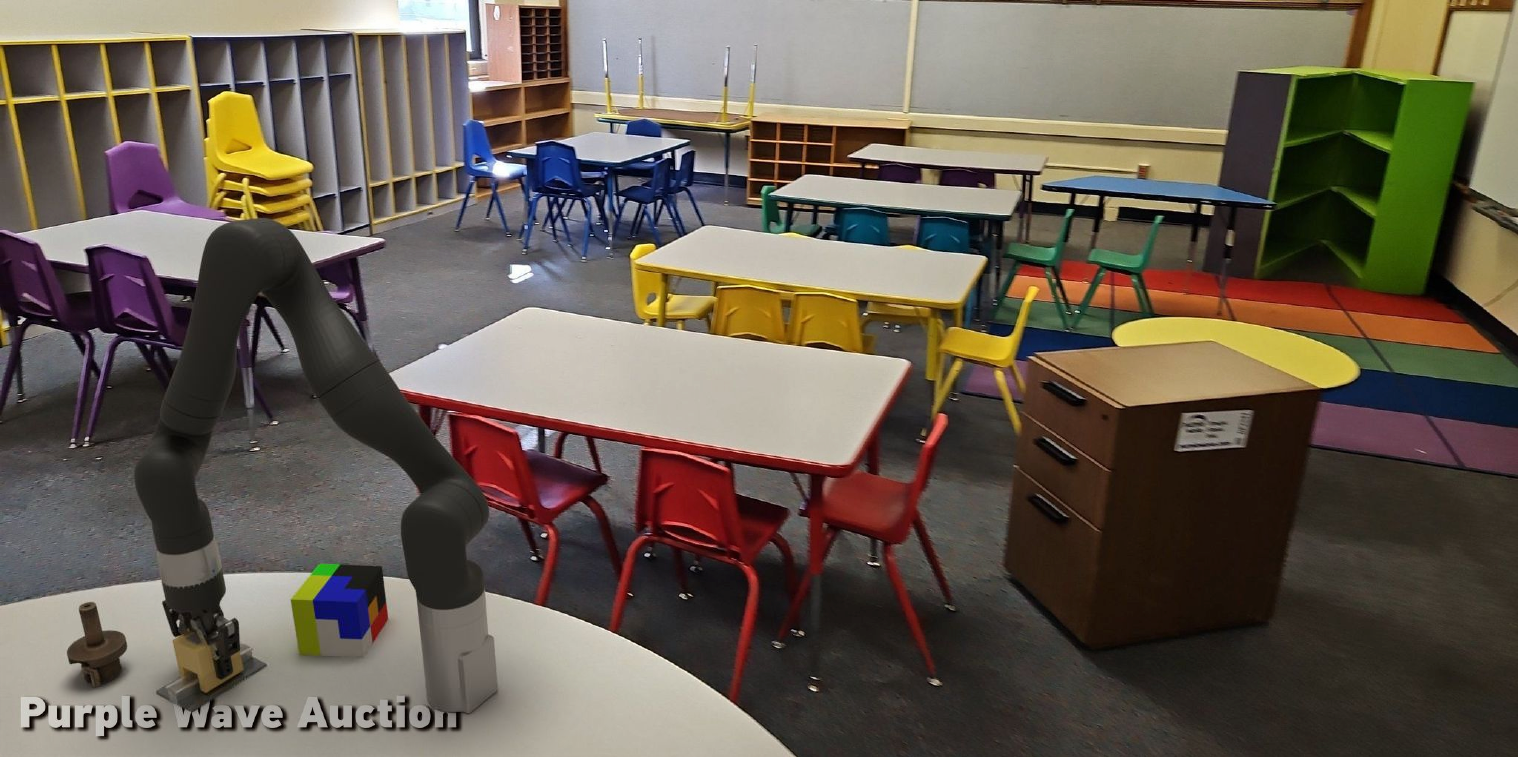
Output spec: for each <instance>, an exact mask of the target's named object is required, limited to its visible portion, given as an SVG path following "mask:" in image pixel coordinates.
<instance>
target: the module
mask: <svg viewBox="0 0 1518 757" xmlns="http://www.w3.org/2000/svg"><path fill="white" fill-rule="evenodd" d="M217 631H218V630H217ZM217 631H216V632H217ZM216 632H214V633H212V634H210V635H208V638H211V637H213V636H215V635H216ZM171 642H172V644H173V646H172V647H173V650H174V654H175V658H176V663H177V669H178V673H179V677H180V678H182V677H183V676H185V675H187V674H189V673H190V672H194V673H196V674H198V679H199V683H200V688H201V691H203V692H205V693H207V692H208V691H210V690H212V689H213V688H215V687H216V686H218V685H220V684H221V683H223V682H225V681H226V680H228V679H229V678H231V677H233V676H234V675H236V674H238V673H239V672H241V671H243V665H242V659H241V654H240V651H239V652H237V653H235V654H234V655H232V656H231V661H232V666H233V673H232V674H231V675H229V676H227V677H226V678H224V679H222V680H220V679H218V678H217V677H216V672H215V667H214V662H213V657H212V655H211V651H210V647H209V646H203V644H202V642H201V640H200V638H199V636H198V633H195V632H191V633H189V634H187V635H185V636H183V635H181V636H178V637H175V638H172V641H171ZM215 645H216V648H217V650H218V649H219V643H218V642H216V643H215ZM231 646H232V644H231Z"/></svg>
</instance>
